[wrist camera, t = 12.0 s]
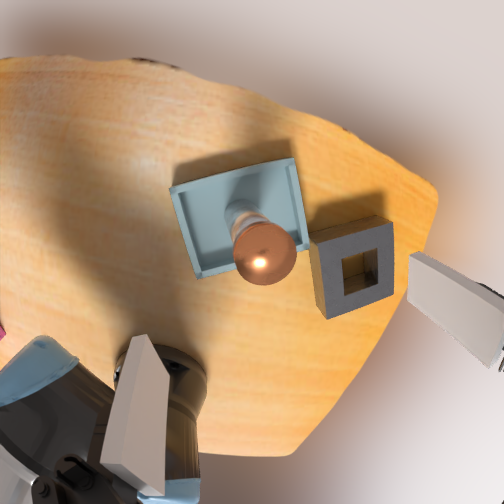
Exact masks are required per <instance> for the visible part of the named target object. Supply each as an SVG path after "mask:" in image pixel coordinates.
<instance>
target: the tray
mask: <svg viewBox="0 0 504 504" xmlns="http://www.w3.org/2000/svg"><path fill="white" fill-rule="evenodd" d="M169 191H170V194H171V198H172V201H173V205H174V208H175V212H176V215H177V218H178V222H179V225H180V228H181V232H182V235H183V238H184V241H185V245H186V248H187V251H188V254H189V257H190V260H191V263H192V266H193V269H194V272H195V275H196V278H197V279H201V278H205V277H208V276H212V275H216V274H220V273H223V272H227V271H231V270H234V269H237V268H236V265H235V261H234V258H233V243H232V240H231V237H230V234H229V231H228V229H227V226H226V223H225V219H224V214H225V211H226V208H227V207H228V206H229V204H231V203H232V202H233V201H236V200H239V199H244V200H248V201H250V202H252V203H253V204H254V205H255V206H256V207H257V208H258V209H259V210H260V211H261V212H262V213H263V214H264V215H265V216H266V217H267V218H268V219H269V220H270V221H271V222H273V223H276V224H278V225H279V226H281V227H282V228H283V229H284V230H285V231H286V232H287V233H288V234H289V235H290V236H291V237H292V239H293V240H294V242H295V245H296V250H297V252H300V251H303V250H307V249H310V243H309V237H308V231H307V225H306V219H305V213H304V207H303V202H302V196H301V191H300V186H299V181H298V176H297V171H296V166H295V161H294V158H283V159H278V160H273V161H268V162H264V163H259V164H255V165H250V166H246V167H242V168H238V169H233V170H229V171H225V172H221V173H218V174H214V175H210V176H206V177H203V178H199V179H195V180H192V181H188V182H185V183H181V184H178V185H175V186H172V187H170V188H169Z"/></svg>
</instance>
